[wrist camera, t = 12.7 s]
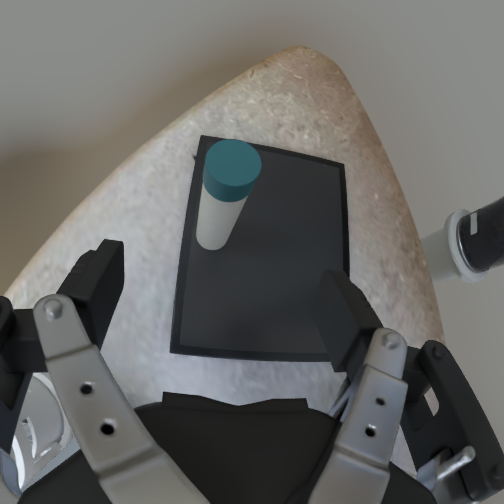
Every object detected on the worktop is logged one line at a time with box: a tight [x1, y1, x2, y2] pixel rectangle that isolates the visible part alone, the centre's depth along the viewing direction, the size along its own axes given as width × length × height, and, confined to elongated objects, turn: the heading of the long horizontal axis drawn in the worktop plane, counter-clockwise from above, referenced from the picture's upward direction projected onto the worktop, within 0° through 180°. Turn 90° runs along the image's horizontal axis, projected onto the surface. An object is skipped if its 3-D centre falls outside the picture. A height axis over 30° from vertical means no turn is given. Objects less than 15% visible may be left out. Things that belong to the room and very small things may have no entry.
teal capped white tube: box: [196, 139, 262, 250], centre depth 20 cm, size 3×3×12 cm
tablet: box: [170, 135, 349, 362], centre depth 27 cm, size 16×21×1 cm
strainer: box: [10, 372, 74, 489], centre depth 13 cm, size 7×7×15 cm
